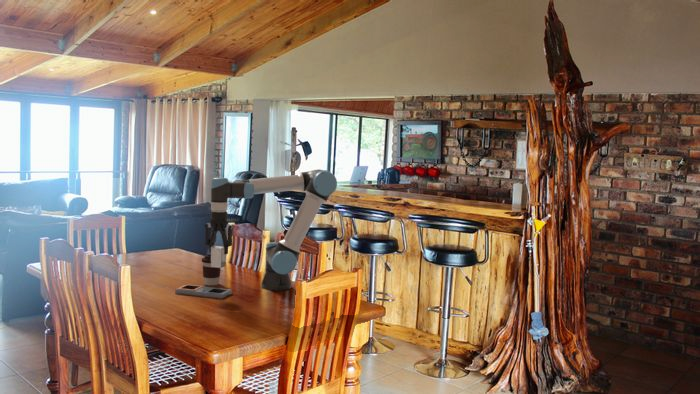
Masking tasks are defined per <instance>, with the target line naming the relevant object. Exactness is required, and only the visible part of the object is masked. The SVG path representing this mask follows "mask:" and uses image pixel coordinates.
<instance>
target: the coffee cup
mask: <svg viewBox="0 0 700 394" xmlns="http://www.w3.org/2000/svg"><path fill="white" fill-rule="evenodd" d="M201 262H202V277H203V284H204V285H205V286H218V285H219V284H220V277H221V268H217V267H211V253H208V254H205V255H204V257H202V258H201Z"/></svg>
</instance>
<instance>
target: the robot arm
mask: <svg viewBox="0 0 700 394" xmlns="http://www.w3.org/2000/svg"><path fill="white" fill-rule="evenodd" d="M210 186H211V187H210V193H211V194H210V198H211V199H210V211H211V212H210V222H208V223H205V224H204V228H205V245H206V246H209V247H208V249H209V251H208V252H209V254H211V248H212V247H215V246H216V245H215V242H216V237H217V233H220V235H221V239H222V244H223V246H222V247H223V248H222V262H224V261H226V262H227V255H228V254H229V247H231V246H233V229H234V225H233V224H229V222H228V216H229V215H228V209H229V208H228V207H229V204H228V202H229V201H228V199H243V200H244V199H246V200H247V199H253V198H254V195H259V194H269V193H270V194H272V193H279V192H292V191H301V192H305V197H304V199H303V201H302V203H301V205H300V207H299V208H298V210H297V212H296V215H295V216H294V218H293V220H292V222H291V224H290V226H289V228H288V230H287V232H286V233H285V236H284V238H283V239H281V240H279V241H278V242H274V241H273V242H271V241H270V242H267V243H266V245H265V246H266V247H265V273H264V275H263V278H262V280H261V284H260V285H261V287H260V288H261V289H263V290H269V291H274V292H276V291H277V292H278V291H280V292H281V291H289V290H291V289H292V285H293V284H292V280H291V276H290V273H292V272H293V271H295V268H296V267H297V262H298V261H297V260H298V258H299V256H300V254H301V250H300V247H301V246H302V243H303V241H304V239H305V238H306V235H307V233H308V232H309V230H310V228H311V225H312V223H313V222H314V221H315V218H316V216H317V214H318V213H319V210H320V209H321V206H322V204H325V203H327V202H328V200H329V198H330V196H331V195H333V194H334V193H335V191H336V189H337V188H338V181H337V178H336V176H335V175H334V174H333V173H332V172H331V171H330V170H329V171H328V170H325V169H324V170H323V169H313V170H309V171H304V172H299V173H298V174H293V175H284V176H283V175H282V176H271V177H270V176H269V177H261V178H251V179H236V180H233V181H229V179H228V178H227V177H212V179H211V185H210ZM211 229H212V230H211Z"/></svg>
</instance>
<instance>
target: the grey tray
mask: <svg viewBox="0 0 700 394" xmlns="http://www.w3.org/2000/svg"><path fill="white" fill-rule="evenodd" d="M174 291H175V295H176V294H177V295H186V296H193V297H194V296H195V297H200V298H201V297H203V298H210V299H219V300H222V299H224V298H227V297H229V296H230V295H232V294H233V289H230V288H220V287H212V286H203V285H195V284H184V285H182V286H180V287H177V288H175V290H174Z"/></svg>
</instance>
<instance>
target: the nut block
mask: <svg viewBox="0 0 700 394" xmlns="http://www.w3.org/2000/svg"><path fill="white" fill-rule="evenodd" d="M214 246H215V247H212V248H211V253H210V254H211V267H217V268H224V267H226V266H227V260H226V261H224V262H222V248H223V247H224V246H221V245H220V246H219V245H214Z"/></svg>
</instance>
